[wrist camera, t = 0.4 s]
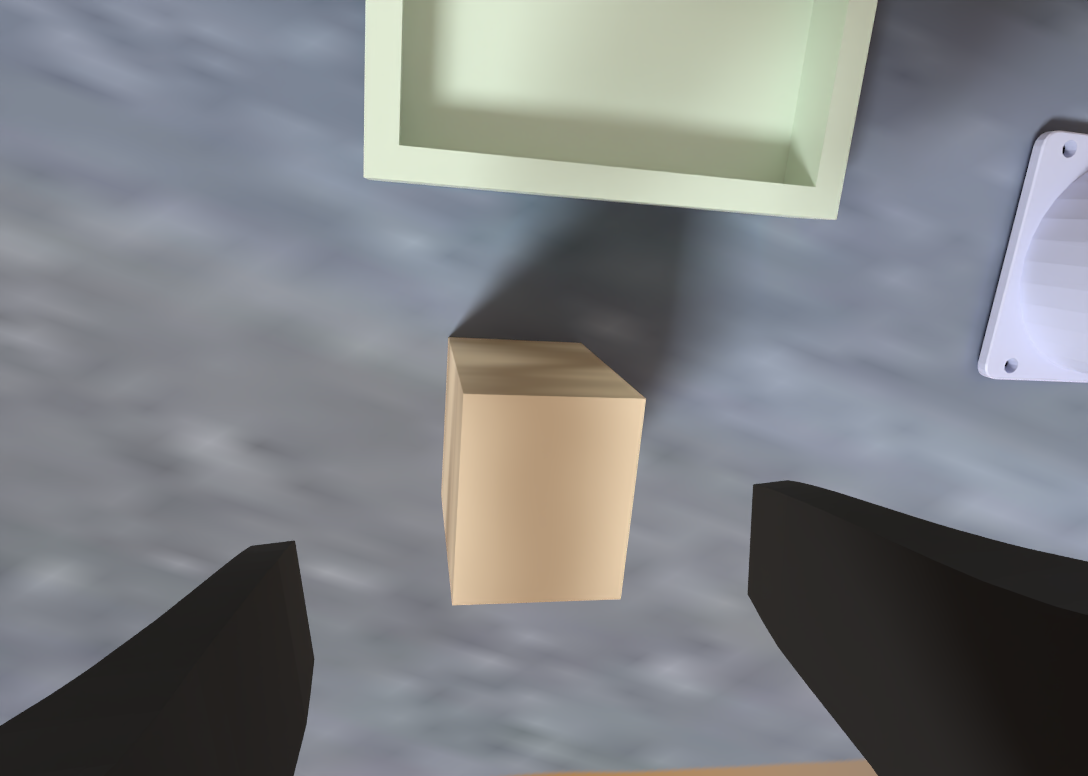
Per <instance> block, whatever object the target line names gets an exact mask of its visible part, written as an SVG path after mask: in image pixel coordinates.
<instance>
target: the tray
mask: <svg viewBox="0 0 1088 776" xmlns="http://www.w3.org/2000/svg"><path fill="white" fill-rule="evenodd" d="M877 2H878V0H366V19H365V105H364V178H366V179H368V180H376V181H387V182H398V183H409V184H421V185H432V186H443V187H454V188H465V189H476V190H488V191H499V192H510V193H521V194H532V195H544V196H555V197H566V198H577V199H588V200H599V201H611V202H622V203H633V204H644V205H655V206H667V207H678V208H689V209H700V210H711V211H722V212H734V213H745V214H756V215H767V216H778V217H790V218H807V219H828V220H836V219H837V213H838V208H839V203H840V198H841V192H842V187H843V182H844V176H845V171H846V166H847V161H848V155H849V150H850V145H851V139H852V134H853V129H854V124H855V118H856V113H857V108H858V102H859V97H860V92H861V86H862V81H863V76H864V71H865V65H866V60H867V55H868V49H869V44H870V39H871V34H872V28H873V23H874V18H875V12H876V7H877Z"/></svg>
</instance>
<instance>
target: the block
mask: <svg viewBox="0 0 1088 776" xmlns="http://www.w3.org/2000/svg"><path fill="white" fill-rule="evenodd" d="M645 403H646V398H645V397H643V396H642V395H641V394H640V393H639V392H638V391H636V390H635V389H634V388H633V387H632V386H631V385H629V384H628V383H627V382H626V381H625V380H624V379H622V378H621V377H620V376H619V375H618V374H617V373H615V372H614V371H613V370H612V369H611V368H610V367H608V366H607V365H606V364H605V363H604V362H603V361H601V360H600V359H599V358H598V357H597V356H596V355H594V354H593V353H592V352H591V351H590V350H589V349H587V348H586V347H585V346H584V345H583V344H582V343H572V342H550V341H527V340H504V339H481V338H459V337H448V359H447V381H446V403H445V425H444V447H443V469H442V491H441V496H442V506H443V516H444V526H445V536H446V547H447V557H448V567H449V577H450V587H451V597H452V605H473V604H500V603H527V602H554V601H581V600H608V599H621V592H622V584H623V576H624V569H625V561H626V553H627V545H628V537H629V529H630V521H631V513H632V505H633V497H634V490H635V482H636V474H637V466H638V458H639V450H640V442H641V434H642V426H643V418H644V411H645Z"/></svg>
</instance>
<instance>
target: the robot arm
mask: <svg viewBox="0 0 1088 776" xmlns="http://www.w3.org/2000/svg"><path fill="white" fill-rule="evenodd" d="M1064 144H1065V152H1064V154H1063V153H1062V151H1063V146H1064ZM1007 361H1008V364H1007V366H1006V368H1005V364H1006V362H1007ZM978 370H979V373H980V374H981V375H982V376H986V377H989V378H992V379H1007V380H1034V381H1060V382H1086V383H1088V134H1083V133H1075V132H1067V131H1060V130H1059V131H1050V132H1045V133H1043V134H1041V135H1040V136H1039V137H1038V139H1037V140H1036V142H1035V144H1034V146H1033V150H1032V154H1031V158H1030V162H1029V166H1028V170H1027V174H1026V178H1025V181H1024V185H1023V189H1022V193H1021V197H1020V201H1019V205H1018V209H1017V213H1016V217H1015V221H1014V224H1013V228H1012V232H1011V236H1010V240H1009V244H1008V248H1007V252H1006V256H1005V260H1004V264H1003V267H1002V271H1001V275H1000V279H999V283H998V287H997V291H996V295H995V299H994V303H993V307H992V310H991V314H990V318H989V322H988V326H987V330H986V334H985V338H984V342H983V346H982V350H981V353H980V357H979V361H978ZM748 596H749V597H750V599H751V601H752V603H753V605H754V606H755V608H756V610H757V612H758V614H759V616H760V617H761V619H762V621H763V623H764V624H765V626H766V628H767V629H768V631H769V633H770V634H771V636H772V638H773V639H774V641H775V643H776V644H777V646H778V647H779V649H780V650H781V651H782V653H783V654H784V655H785V657H786V658H787V659H788V661H789V662H790V663H791V664H792V666H793V667H794V668H795V670H796V671H797V672H798V674H799V675H800V676H801V677H802V679H803V680H804V681H805V683H806V684H807V685H808V687H809V688H810V689H811V690H812V692H813V693H814V694H815V695H816V697H817V698H818V699H819V700H820V702H821V703H822V704H823V706H824V707H825V708H826V709H827V711H828V712H829V713H830V714H831V716H832V717H833V718H834V719H835V721H836V722H837V723H838V725H839V726H840V727H841V728H842V730H843V731H844V732H845V733H846V735H847V736H848V737H849V738H850V740H851V741H852V742H853V744H854V745H855V746H856V747H857V749H858V750H859V751H860V752H861V754H862V755H863V756H864V758H865V759H866V760H867V761H868V763H869V764H870V765H871V766H872V768H873V769H874V771H875V772H876V773H877V775H878V776H1088V562H1087V561H1082V560H1078V559H1073V558H1069V557H1064V556H1059V555H1055V554H1050V553H1046V552H1041V551H1037V550H1032V549H1027V548H1023V547H1019V546H1015V545H1011V544H1007V543H1003V542H999V541H996V540H992V539H989V538H985V537H981V536H978V535H974V534H971V533H967V532H963V531H960V530H956V529H953V528H949V527H946V526H943V525H939V524H936V523H933V522H929V521H926V520H923V519H920V518H916V517H913V516H910V515H907V514H904V513H900V512H897V511H894V510H891V509H888V508H885V507H882V506H879V505H875V504H872V503H869V502H866V501H863V500H860V499H857V498H854V497H850V496H847V495H844V494H841V493H838V492H834V491H831V490H827V489H824V488H820V487H817V486H813V485H809V484H805V483H800V482H795V481H789V480H787V481H778V482H770V483H762V484H754V485H753V498H752V518H751V538H750V558H749V577H748ZM313 666H314V654H313V648H312V642H311V636H310V630H309V624H308V618H307V612H306V606H305V600H304V593H303V587H302V581H301V575H300V569H299V563H298V557H297V551H296V545H295V541H287V542H279V543H271V544H263V545H255V546H250V547H249V548H247V549H246V550H244V551H243V552H241V553H240V554H238V555H237V556H236V557H234V558H233V559H232V560H231V561H229V562H228V563H227V564H225V565H224V566H223V567H222V568H220V569H219V570H218V571H217V572H215V573H214V574H213V575H212V576H211V577H209V578H208V579H207V580H206V581H204V582H203V583H202V584H201V585H199V586H198V587H197V588H196V589H194V590H193V591H192V592H191V593H189V594H188V595H187V596H186V597H184V598H183V599H182V600H181V601H179V602H178V603H177V604H176V605H174V606H173V607H172V608H171V609H169V610H168V611H167V612H166V613H164V614H163V615H162V616H161V617H159V618H158V619H157V620H155V621H154V622H153V623H151V624H150V625H149V626H147V627H146V628H144V629H143V630H142V631H140V632H139V633H138V634H136V635H135V636H134V637H132V638H131V639H129V640H128V641H127V642H125V643H124V644H123V645H121V646H120V647H119V648H117V649H116V650H114V651H113V652H112V653H110V654H109V655H108V656H106V657H105V658H104V659H102V660H101V661H99V662H98V663H97V664H95V665H94V666H93V667H91V668H90V669H88V670H87V671H85V672H84V673H82V674H81V675H80V676H78V677H77V678H75V679H74V680H72V681H71V682H69V683H68V684H66V685H65V686H63V687H62V688H60V689H58V690H57V691H55V692H54V693H52V694H51V695H49V696H48V697H46V698H45V699H43V700H41V701H40V702H38V703H36V704H35V705H33V706H32V707H30V708H28V709H27V710H25V711H24V712H22V713H20V714H19V715H17V716H15V717H14V718H12V719H11V720H9V721H7V722H6V723H4V724H3V725H1V726H0V776H294V772H295V768H296V764H297V760H298V756H299V752H300V748H301V744H302V740H303V736H304V732H305V728H306V723H307V716H308V708H309V701H310V693H311V684H312V675H313Z"/></svg>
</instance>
